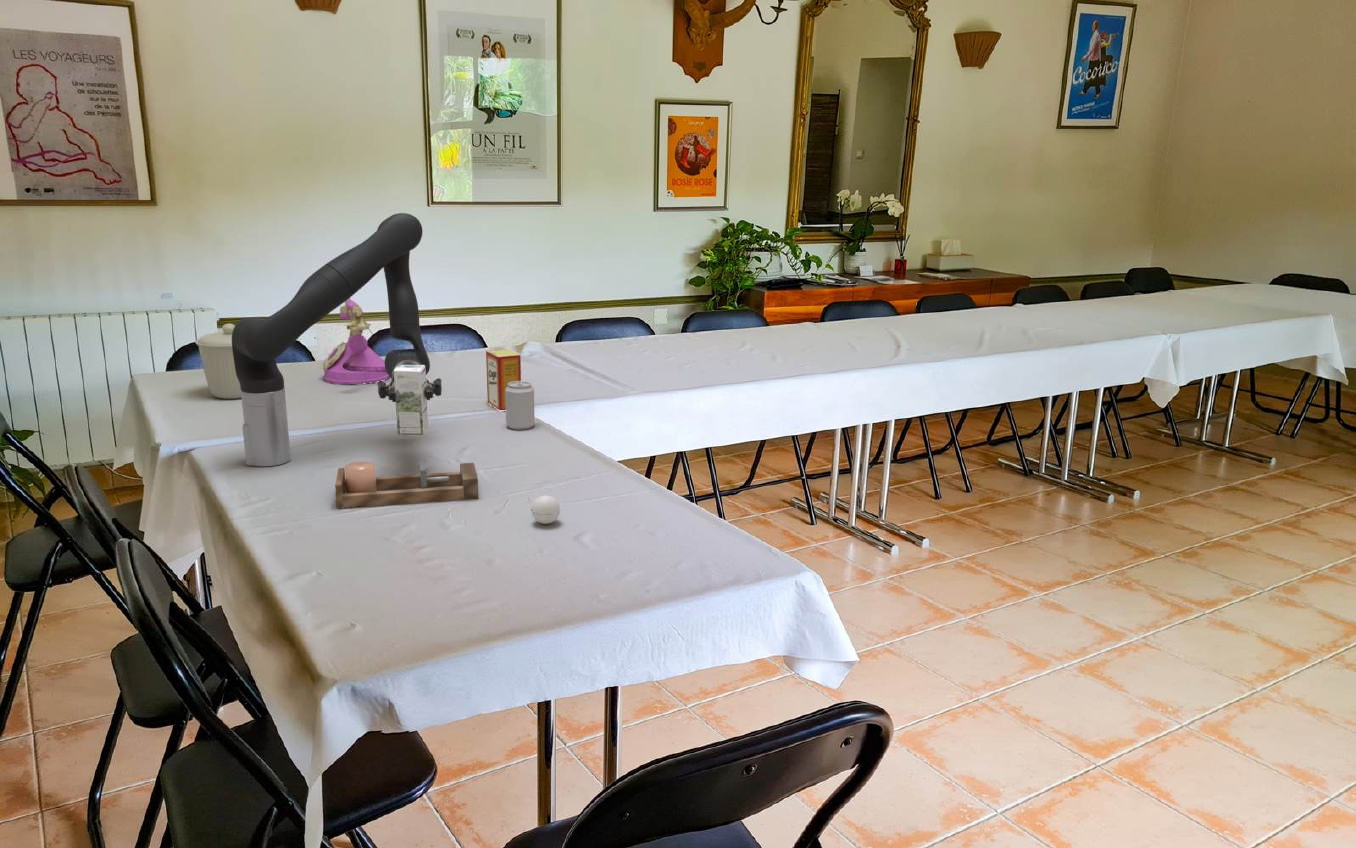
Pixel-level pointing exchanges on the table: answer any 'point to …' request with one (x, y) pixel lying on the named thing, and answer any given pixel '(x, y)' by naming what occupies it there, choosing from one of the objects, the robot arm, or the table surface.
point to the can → (519, 405)
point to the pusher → (428, 479)
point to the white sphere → (545, 509)
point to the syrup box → (411, 399)
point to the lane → (463, 478)
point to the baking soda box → (501, 375)
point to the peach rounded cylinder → (360, 477)
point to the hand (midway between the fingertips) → (411, 396)
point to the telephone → (354, 353)
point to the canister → (220, 363)
